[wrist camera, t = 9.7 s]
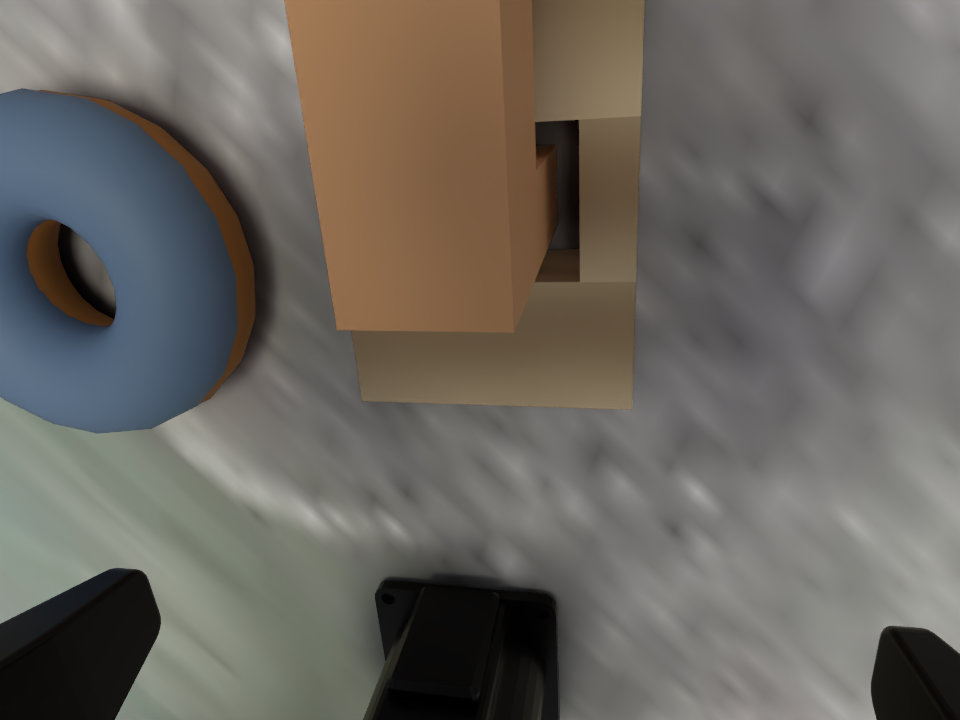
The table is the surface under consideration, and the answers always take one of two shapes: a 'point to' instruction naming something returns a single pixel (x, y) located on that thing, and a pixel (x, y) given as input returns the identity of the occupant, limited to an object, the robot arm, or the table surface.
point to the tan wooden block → (425, 159)
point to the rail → (564, 272)
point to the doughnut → (114, 267)
